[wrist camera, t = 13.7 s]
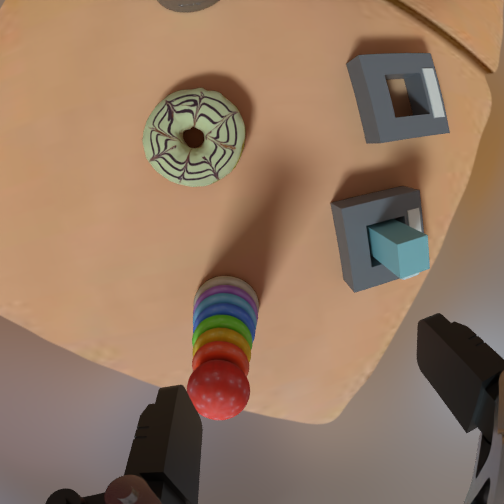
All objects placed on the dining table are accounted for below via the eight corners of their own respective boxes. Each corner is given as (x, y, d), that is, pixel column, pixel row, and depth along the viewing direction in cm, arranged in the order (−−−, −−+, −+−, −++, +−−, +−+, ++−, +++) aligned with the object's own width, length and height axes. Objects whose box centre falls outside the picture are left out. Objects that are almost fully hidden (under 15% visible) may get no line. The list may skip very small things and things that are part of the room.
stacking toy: (250, 266, 38) (265, 362, 21) (263, 323, 41) (284, 434, 23) (186, 281, 38) (154, 381, 21) (204, 335, 41) (191, 448, 23)
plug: (359, 221, 37) (397, 244, 28) (384, 214, 37) (427, 235, 28) (364, 255, 39) (400, 286, 29) (389, 247, 39) (429, 275, 29)
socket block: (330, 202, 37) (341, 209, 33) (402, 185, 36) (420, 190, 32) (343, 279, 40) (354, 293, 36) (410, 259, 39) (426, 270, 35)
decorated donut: (163, 85, 32) (155, 77, 28) (255, 105, 33) (257, 99, 29) (140, 172, 34) (130, 174, 31) (230, 193, 36) (230, 197, 32)
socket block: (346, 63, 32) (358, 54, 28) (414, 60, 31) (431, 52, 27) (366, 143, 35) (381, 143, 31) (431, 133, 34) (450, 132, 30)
